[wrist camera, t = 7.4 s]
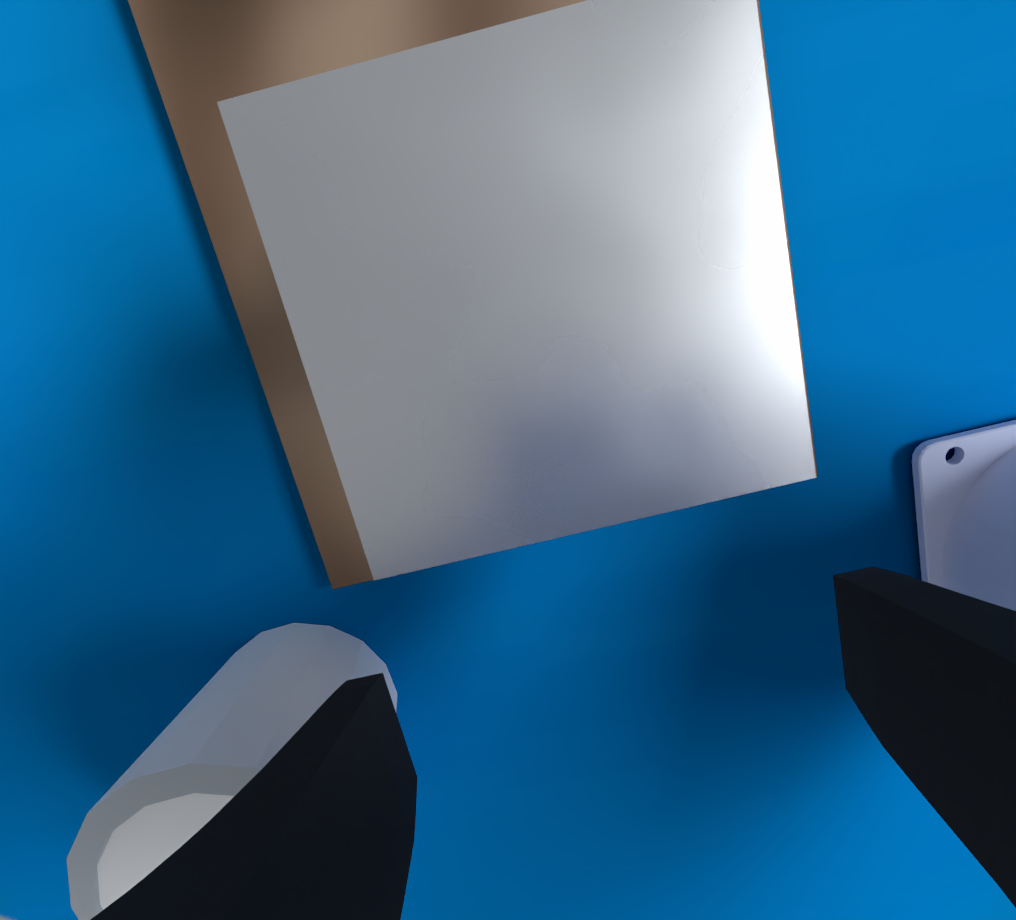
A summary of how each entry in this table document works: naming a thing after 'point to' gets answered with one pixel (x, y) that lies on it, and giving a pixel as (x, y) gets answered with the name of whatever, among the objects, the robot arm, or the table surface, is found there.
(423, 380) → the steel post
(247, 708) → the shot glass
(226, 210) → the stand
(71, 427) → the table surface
